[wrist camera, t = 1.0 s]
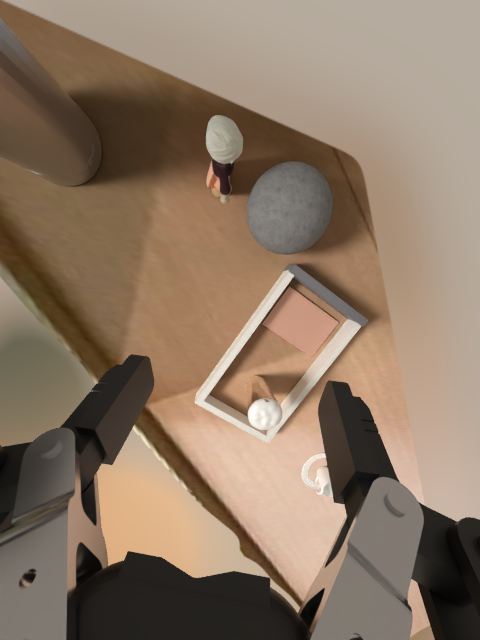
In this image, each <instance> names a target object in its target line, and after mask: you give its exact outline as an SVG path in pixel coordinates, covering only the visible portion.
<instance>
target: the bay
mask: <svg viewBox="0 0 480 640" xmlns="http://www.w3.org/2000/svg"><path fill="white" fill-rule="evenodd" d="M292 278H294V279H295V280H296V281H298V282H299V283H300V284H302V285H303V286H305V287H306V288H307V289H309V290H310V291H311V292H313V293H314V294H315V295H317V296H318V297H319V298H321V299H322V300H323V301H325V302H326V303H327V304H329V305H330V306H331V307H333V308H334V309H335V310H337V311H338V312H339V313H341V314H342V315H343V316H345V317H346V318H347V320H346V322H345V323H344V324H343V326H342V327H341V328H340V329H339V331H338V332H337V333H336V334H335V336H334V337H333V338H332V340H331V341H330V342H329V343H328V345H327V346H326V347H325V349H324V350H323V351H322V352H321V354H320V355H319V356H318V357H317V359H316V360H315V361H314V363H313V364H312V365H311V366H310V368H309V369H308V370H307V371H306V373H305V374H304V375H303V377H302V378H301V379H300V380H299V382H298V383H297V384H296V386H295V387H294V388H293V389H292V391H291V392H290V393H289V394H288V396H287V397H286V398H285V400H284V401H283V402H282V403H281V405H280V406H281V408H282V419H281V421H280V423H279V424H278V425H277V426H275V427H273V428H272V429H269V430H259V429H257V428H255V427H253V426H252V425H251V424H250V422H249V420H248V417H247V416H245V415H244V414H242V413H240V412H238V411H237V410H235V409H233V408H231V407H230V406H228V405H226V404H224V403H223V402H221V401H219V400H217V399H216V398H214V397H212V396H210V395H209V393H210V392H211V390H212V389H213V388H214V386H215V385H216V383H217V382H218V381H219V379H220V378H221V377H222V375H223V374H224V372H225V371H226V370H227V368H228V367H229V365H230V364H231V363H232V361H233V360H234V358H235V357H236V356H237V354H238V353H239V352H240V350H241V349H242V347H243V346H244V345H245V343H246V342H247V340H248V339H249V338H250V336H251V335H252V334H253V332H254V331H255V329H256V328H257V327H258V325H259V324H260V322H261V321H262V320H263V318H264V317H265V316H266V314H267V313H268V311H269V310H270V309H271V307H272V306H273V304H274V303H275V302H276V300H277V299H278V298H279V296H280V295H281V293H282V292H283V291H284V289H285V288H286V286H287V285H288V284H289V282H290V281H291V280H292ZM368 321H369V320H368V319H366V318H365V317H364V316H362V315H361V314H360V313H358V312H357V311H356V310H354V309H353V308H352V307H351V306H349V305H348V304H347V303H345V302H344V301H343V300H341V299H340V298H339V297H337V296H336V295H335V294H334V293H332V292H331V291H330V290H328V289H327V288H326V287H324V286H323V285H322V284H320V283H319V282H318V281H317V280H315V279H314V278H313V277H311V276H310V275H309V274H307V273H306V272H305V271H303V270H302V269H301V268H300V267H298V266H297V265H296V264H289V265H288V266H287V267H286V269H285V270H284V272H283V273H282V274H281V276H280V277H279V279H278V280H277V281H276V283H275V284H274V286H273V287H272V288H271V290H270V291H269V293H268V294H267V295H266V297H265V298H264V300H263V301H262V303H261V304H260V305H259V307H258V308H257V310H256V311H255V312H254V314H253V315H252V317H251V318H250V319H249V321H248V322H247V324H246V325H245V326H244V328H243V329H242V331H241V332H240V333H239V335H238V336H237V338H236V339H235V340H234V342H233V343H232V345H231V346H230V347H229V349H228V350H227V352H226V353H225V354H224V356H223V357H222V359H221V360H220V361H219V363H218V364H217V366H216V367H215V368H214V370H213V371H212V373H211V374H210V376H209V377H208V378H207V380H206V381H205V383H204V384H203V385H202V387H201V388H200V390H199V391H198V392H197V394H196V398H195V403H196V404H198V405H199V406H201V407H203V408H205V409H207V410H208V411H210V412H212V413H214V414H216V415H217V416H219V417H221V418H223V419H225V420H226V421H228V422H230V423H232V424H234V425H235V426H237V427H239V428H241V429H243V430H244V431H246V432H248V433H250V434H252V435H253V436H255V437H257V438H259V439H261V440H262V441H264V442H266V443H269V441H270V440H271V439H272V438H273V436H274V435H275V434H276V433H277V431H278V430H279V429H280V428H281V426H282V425H283V424H284V423H285V421H286V420H287V419H288V418H289V416H290V415H291V414H292V413H293V411H294V410H295V409H296V408H297V406H298V405H299V404H300V403H301V401H302V400H303V399H304V398H305V396H306V395H307V394H308V393H309V391H310V390H311V389H312V388H313V386H314V385H315V384H316V383H317V381H318V380H319V379H320V378H321V376H322V375H323V374H324V373H325V371H326V370H327V369H328V368H329V366H330V365H331V364H332V362H333V361H334V360H335V359H336V357H337V356H338V355H339V354H340V352H341V351H342V350H343V349H344V347H345V346H346V345H347V344H348V342H349V341H350V340H351V339H352V337H353V336H354V335H355V334H356V332H357V331H358V330H359V329H360V327H361V326H362V327H364V326H365V325H366V323H367V322H368ZM338 323H339V322H338V321H336V320H335V319H333V318H332V317H331V316H329V315H328V314H327V313H325V312H324V311H323V310H321V309H320V308H319V307H317V306H316V305H314V304H313V303H312V302H310V301H309V300H308V299H306V298H305V297H304V296H302V295H301V294H300V293H298V292H297V291H295V290H294V289H293V288H291V287H290V286H289V287H288V288H287V290H286V291H285V292H284V294H283V295H282V297H281V298H280V299H279V301H278V302H277V303H276V305H275V306H274V308H273V309H272V310H271V312H270V313H269V315H268V316H267V317H266V319H265V320H264V321H263V323H262V324H263V325H264V326H266V327H267V328H269V329H270V330H272V331H273V332H275V333H276V334H278V335H279V336H281V337H282V338H284V339H285V340H287V341H288V342H289V343H291V344H292V345H294V346H295V347H297V348H298V349H300V350H301V351H303V352H304V353H306V354H307V355H309V356H310V357H312V356H313V355H314V354H315V353H316V351H317V350H318V349H319V347H320V346H321V345H322V344H323V342H324V341H325V340H326V338H327V337H328V336H329V335H330V333H331V332H332V331H333V329H334V328H335V327H336V326H337V324H338Z"/></svg>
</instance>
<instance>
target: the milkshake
mask: <svg viewBox="0 0 480 640" xmlns="http://www.w3.org/2000/svg"><path fill="white" fill-rule="evenodd" d="M247 398H248V420H249V422H250V424H251V425H252V426H253V427H255V428H257V429H259V430H269V429H272V428H273V427H275V426H277V425H278V424H279V423H280V421H281V419H282V408H281V406H280V405H279V403H278V401H277V400H276V398H275V397H274V395H273V393H272V392H271V390H270V388H269V386H268V384H267V383H266V381H265V380H264V379H263V377H261V376H257V375H255V376H253V377H250V378H249V380H248V381H247Z"/></svg>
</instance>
